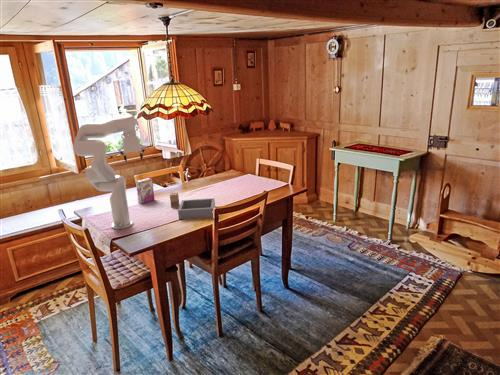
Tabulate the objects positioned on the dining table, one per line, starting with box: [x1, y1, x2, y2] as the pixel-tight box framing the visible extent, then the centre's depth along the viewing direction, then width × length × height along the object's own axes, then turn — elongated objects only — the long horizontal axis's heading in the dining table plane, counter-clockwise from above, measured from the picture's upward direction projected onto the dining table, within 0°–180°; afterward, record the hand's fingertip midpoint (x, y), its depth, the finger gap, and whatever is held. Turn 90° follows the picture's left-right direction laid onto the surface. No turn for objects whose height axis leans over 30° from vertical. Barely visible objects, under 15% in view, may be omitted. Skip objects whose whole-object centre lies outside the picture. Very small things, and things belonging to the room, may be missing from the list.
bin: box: [177, 198, 216, 220], centre depth 236 cm, size 20×22×6 cm
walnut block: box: [169, 192, 180, 209], centre depth 250 cm, size 5×5×9 cm
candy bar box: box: [135, 177, 155, 205], centre depth 263 cm, size 11×5×16 cm, turn 141°
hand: (133, 160), depth 236 cm, fingers open, 9 cm apart
